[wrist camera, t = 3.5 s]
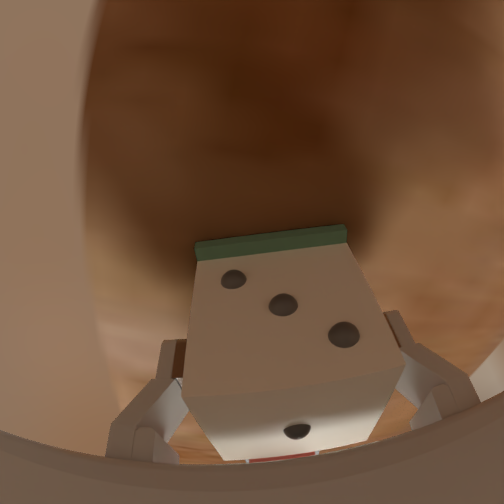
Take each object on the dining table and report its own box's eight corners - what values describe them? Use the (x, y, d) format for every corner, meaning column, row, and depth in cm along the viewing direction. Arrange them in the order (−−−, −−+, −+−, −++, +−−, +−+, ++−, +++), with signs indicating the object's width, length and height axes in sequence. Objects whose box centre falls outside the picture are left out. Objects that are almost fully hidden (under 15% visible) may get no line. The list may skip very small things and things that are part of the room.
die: (195, 254, 10) (175, 402, 6) (347, 235, 10) (414, 367, 5) (224, 356, 13) (225, 469, 9) (336, 342, 13) (366, 449, 9)
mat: (195, 242, 10) (194, 248, 10) (343, 224, 10) (347, 230, 10) (225, 352, 14) (225, 359, 13) (334, 338, 13) (336, 345, 13)
